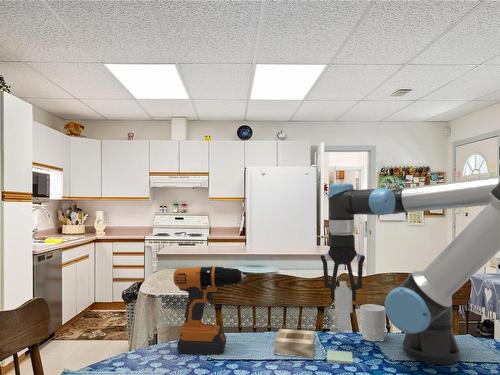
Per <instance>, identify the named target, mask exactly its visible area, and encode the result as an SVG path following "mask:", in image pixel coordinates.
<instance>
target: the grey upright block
mask: <svg viewBox="0 0 500 375" xmlns="http://www.w3.org/2000/svg"><path fill="white" fill-rule="evenodd" d="M338 282H339V286H337V287H336V288H337V309H338V312H337V330H338V331H349V332H350V331H351V313H350V293H349V289H350V287H348V284H347V281H345V280H339V281H338Z"/></svg>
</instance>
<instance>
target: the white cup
mask: <svg viewBox="0 0 500 375" xmlns="http://www.w3.org/2000/svg"><path fill="white" fill-rule="evenodd" d="M359 307H360V321H361V324H360V325H361V332H362V339H364V340H366V341H367V342H373V343H374V342H375V341H380V342H382V341H381V340H383V339H384V340H385V331H386V317H387V314H386V311H385V306H383V305H380V304H379V305H378V304H371V303H370V304H362V305H360V306H359ZM384 340H383V341H384ZM375 343H376V342H375Z"/></svg>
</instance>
